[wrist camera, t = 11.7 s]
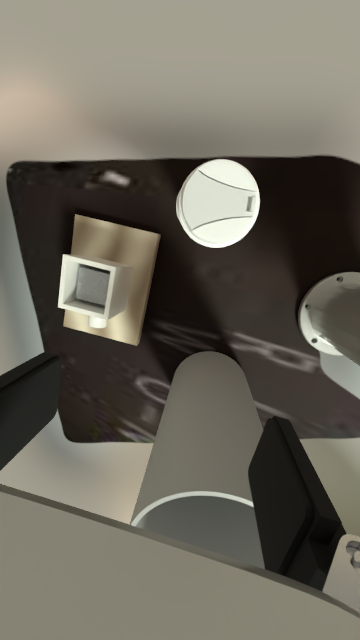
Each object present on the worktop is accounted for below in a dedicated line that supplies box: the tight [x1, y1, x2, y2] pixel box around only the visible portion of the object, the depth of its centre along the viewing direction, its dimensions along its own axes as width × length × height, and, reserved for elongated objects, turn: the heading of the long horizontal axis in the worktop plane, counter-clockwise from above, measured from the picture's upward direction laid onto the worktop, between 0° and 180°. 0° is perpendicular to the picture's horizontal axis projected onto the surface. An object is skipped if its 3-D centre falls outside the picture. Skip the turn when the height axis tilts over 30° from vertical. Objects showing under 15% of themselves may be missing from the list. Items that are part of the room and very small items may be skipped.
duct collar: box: [58, 254, 133, 328], centre depth 33 cm, size 7×10×7 cm
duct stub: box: [76, 266, 111, 306], centre depth 34 cm, size 4×4×5 cm
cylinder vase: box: [130, 351, 265, 569], centre depth 28 cm, size 12×12×25 cm
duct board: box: [64, 214, 161, 346], centre depth 37 cm, size 13×18×2 cm
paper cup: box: [176, 159, 260, 248], centre depth 27 cm, size 8×8×14 cm
